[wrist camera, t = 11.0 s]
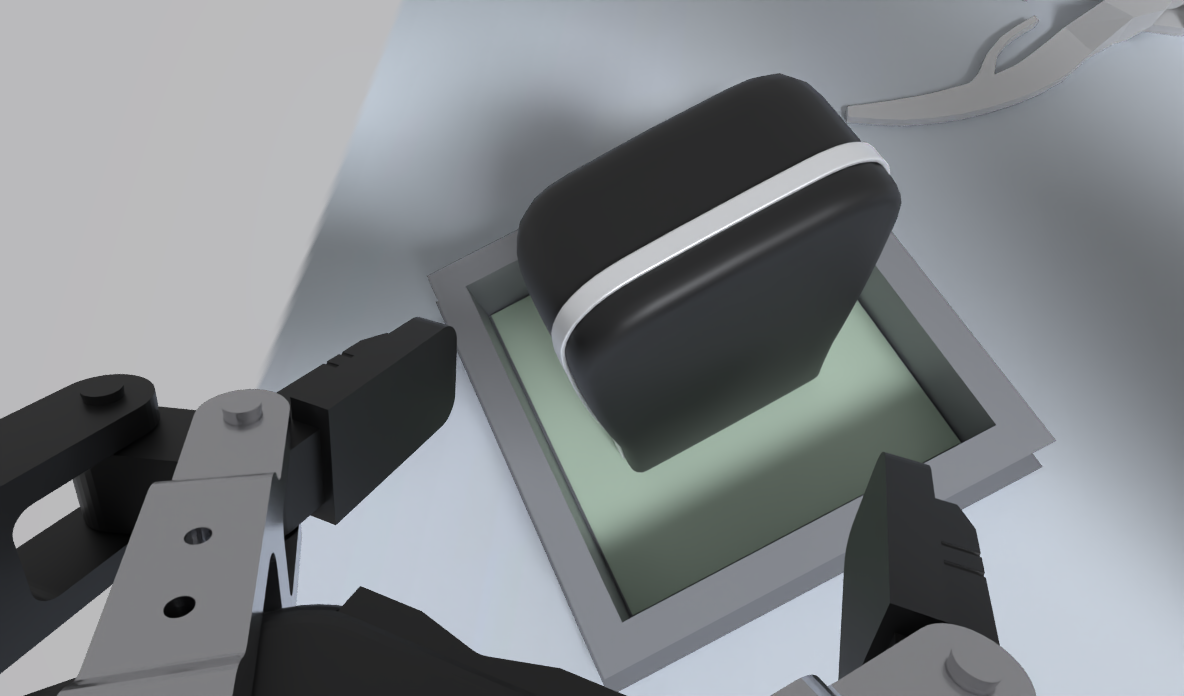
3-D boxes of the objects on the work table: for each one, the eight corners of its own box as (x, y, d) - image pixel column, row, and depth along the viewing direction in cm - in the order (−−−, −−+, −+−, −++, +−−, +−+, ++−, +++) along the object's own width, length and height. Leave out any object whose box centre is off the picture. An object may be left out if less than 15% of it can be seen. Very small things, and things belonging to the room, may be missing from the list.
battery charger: (761, 280, 23) (807, 2, 12) (828, 375, 21) (945, 152, 11) (575, 380, 23) (460, 186, 12) (630, 483, 21) (555, 364, 11)
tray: (778, 142, 26) (788, 76, 23) (1027, 473, 21) (1086, 448, 18) (445, 312, 26) (408, 270, 22) (613, 692, 20) (595, 709, 17)
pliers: (838, -94, 28) (1264, -134, 25) (832, -59, 29) (1234, -94, 27) (853, 106, 25) (1346, 82, 22) (845, 134, 26) (1306, 115, 24)
